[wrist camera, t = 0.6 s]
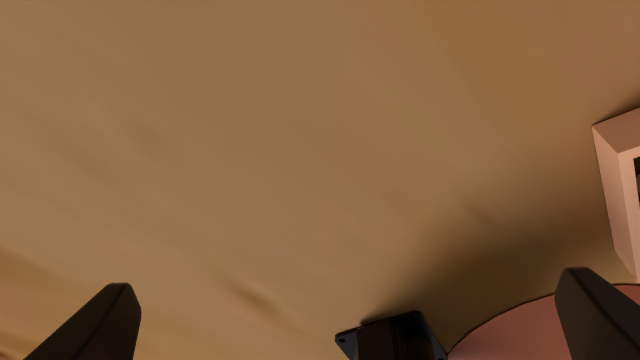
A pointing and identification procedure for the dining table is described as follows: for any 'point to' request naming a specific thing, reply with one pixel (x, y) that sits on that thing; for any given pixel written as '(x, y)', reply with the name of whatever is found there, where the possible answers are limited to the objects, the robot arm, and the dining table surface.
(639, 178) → the skincare box
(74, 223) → the dining table surface
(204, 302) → the dining table surface
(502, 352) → the ceramic vessels
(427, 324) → the robot arm
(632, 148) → the holder
